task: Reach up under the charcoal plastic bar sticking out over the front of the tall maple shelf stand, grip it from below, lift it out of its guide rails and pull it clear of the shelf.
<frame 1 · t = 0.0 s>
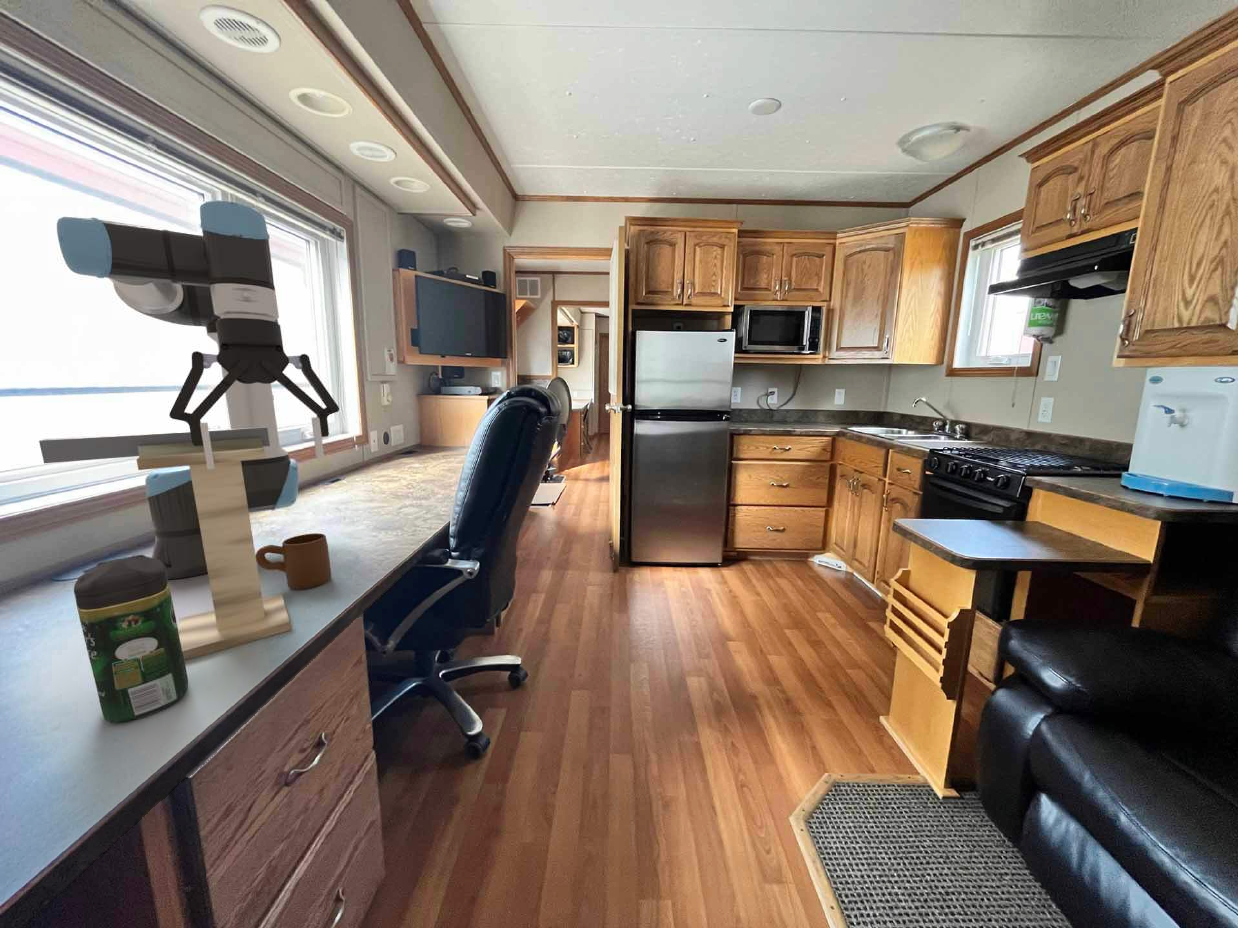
hand: (269, 462, 72), 28 cm above the counter, tool pointing down, fingers open, 13 cm apart
mug: (297, 586, 94), on the counter
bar: (170, 452, 70), point 30 cm above the counter, touching stand
stand: (235, 628, 77), on the counter
coffee jar: (147, 701, 60), on the counter
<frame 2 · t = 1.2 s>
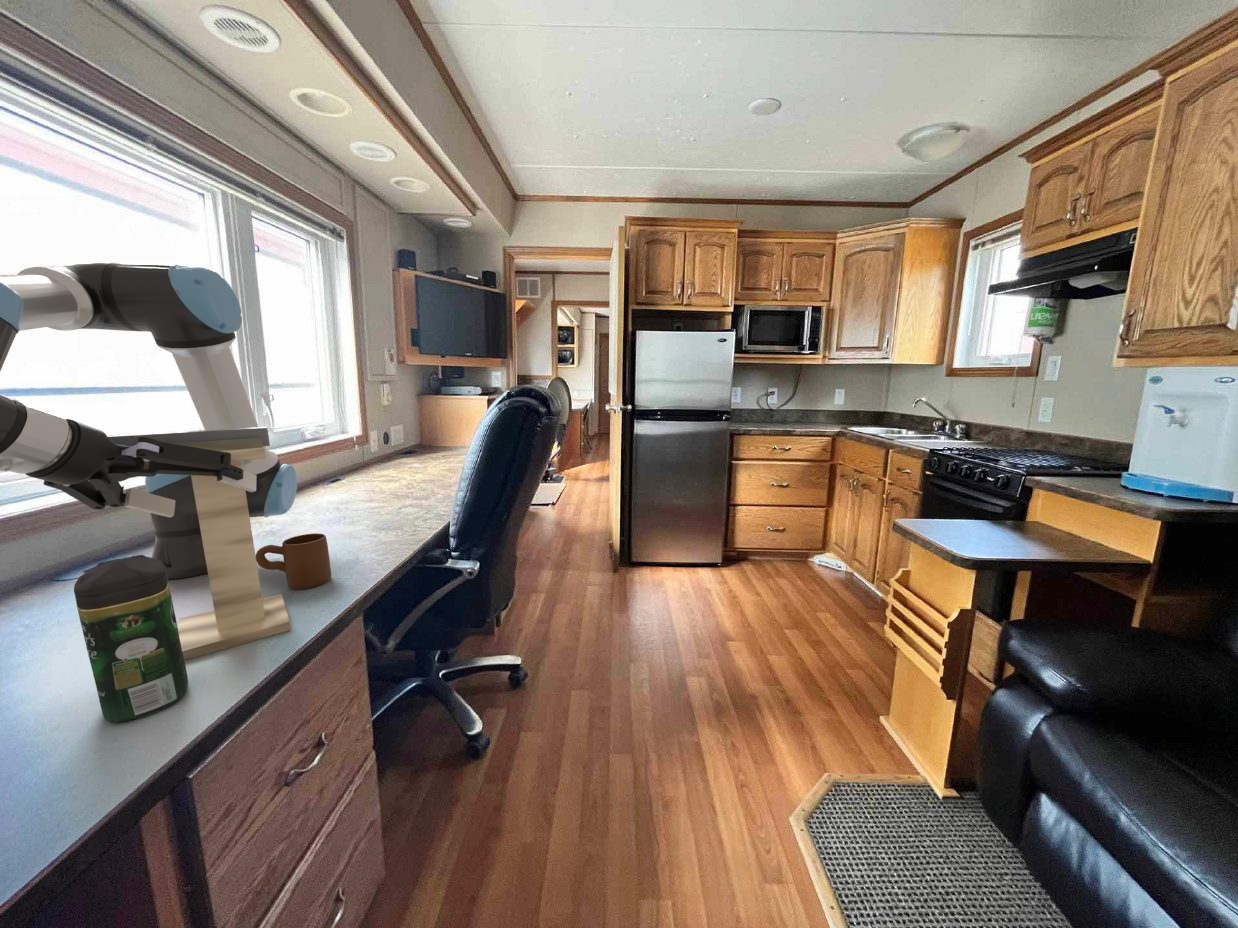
hand: (213, 496, 74), 22 cm above the counter, tool tilted 60°, fingers open, 13 cm apart
nothing on the counter moved.
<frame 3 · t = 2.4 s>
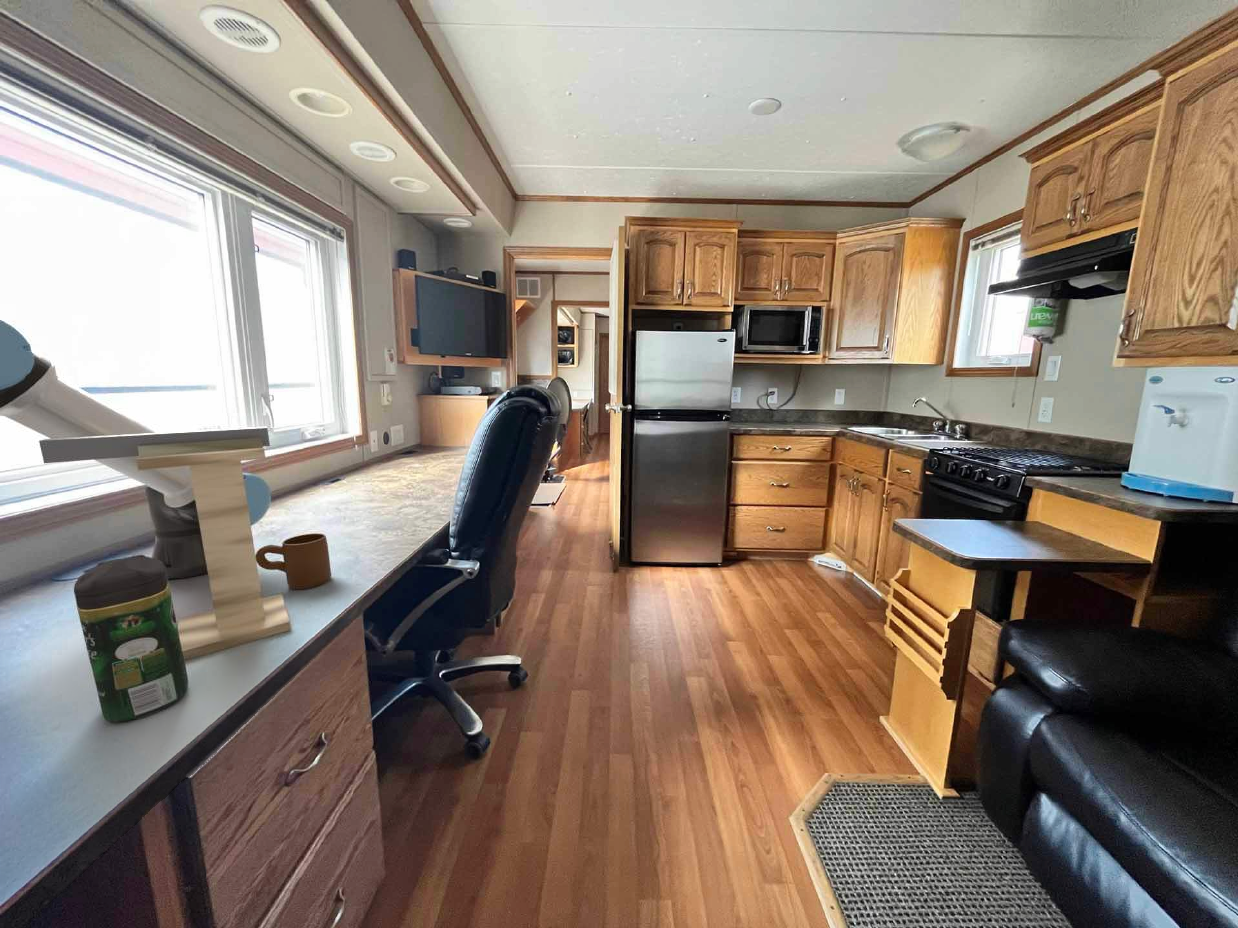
nothing on the counter moved.
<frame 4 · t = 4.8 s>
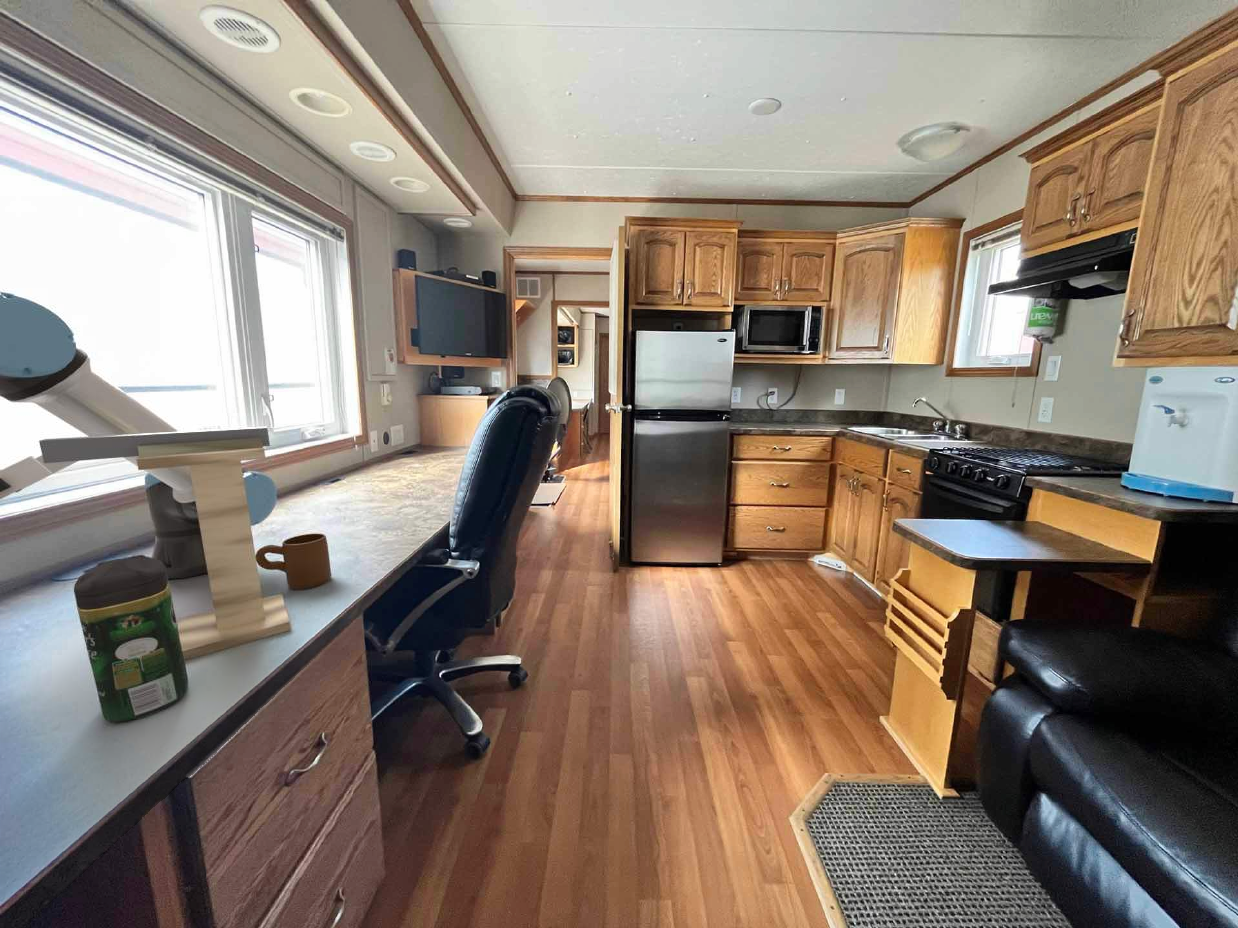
hand: (57, 458, 63), 30 cm above the counter, tool pointing upward, fingers open, 13 cm apart
nothing on the counter moved.
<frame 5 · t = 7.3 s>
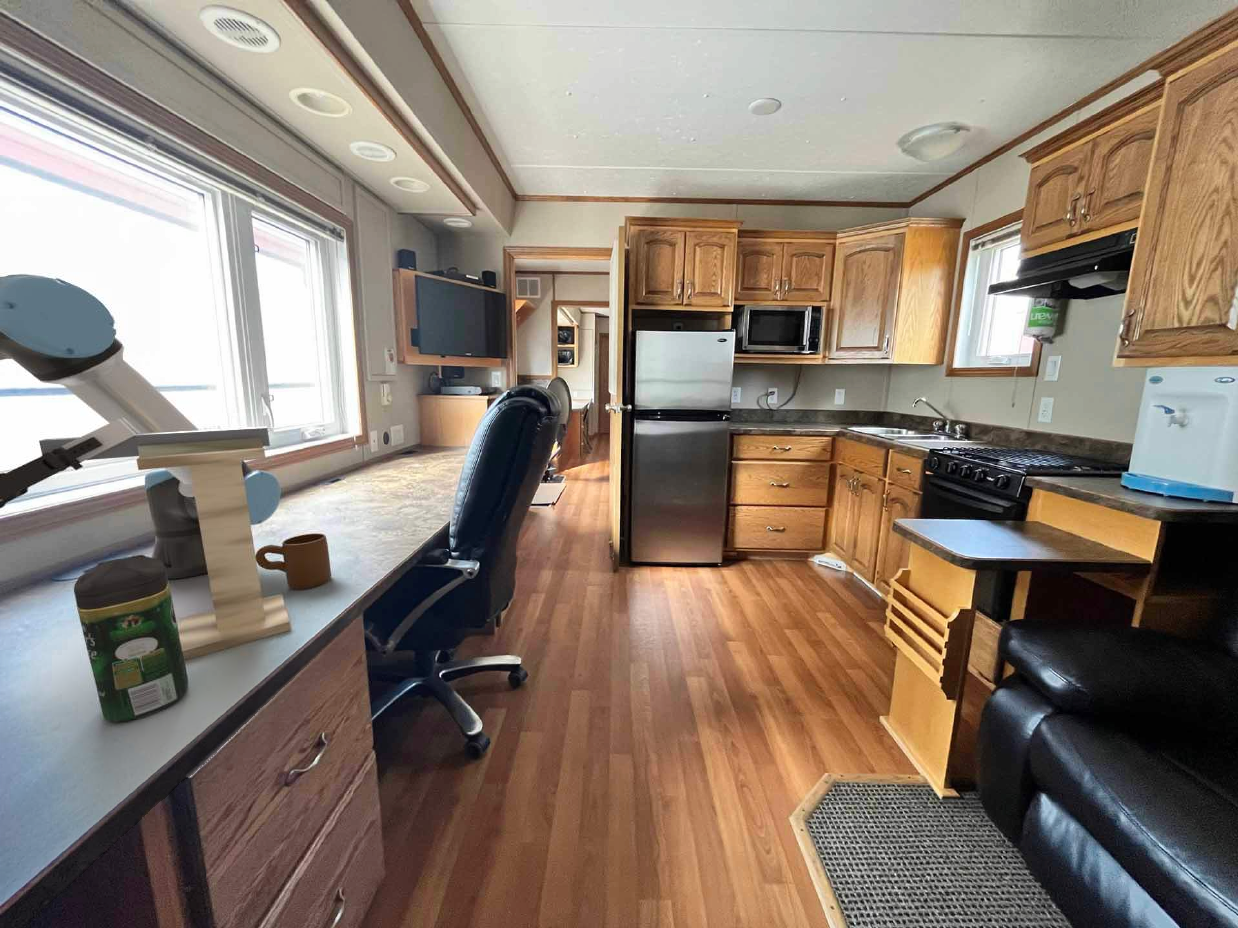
hand: (129, 426, 67), 34 cm above the counter, tool pointing upward, fingers closed on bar, 3 cm apart
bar: (170, 452, 70), point 30 cm above the counter, touching gripper, stand
everything else where it was.
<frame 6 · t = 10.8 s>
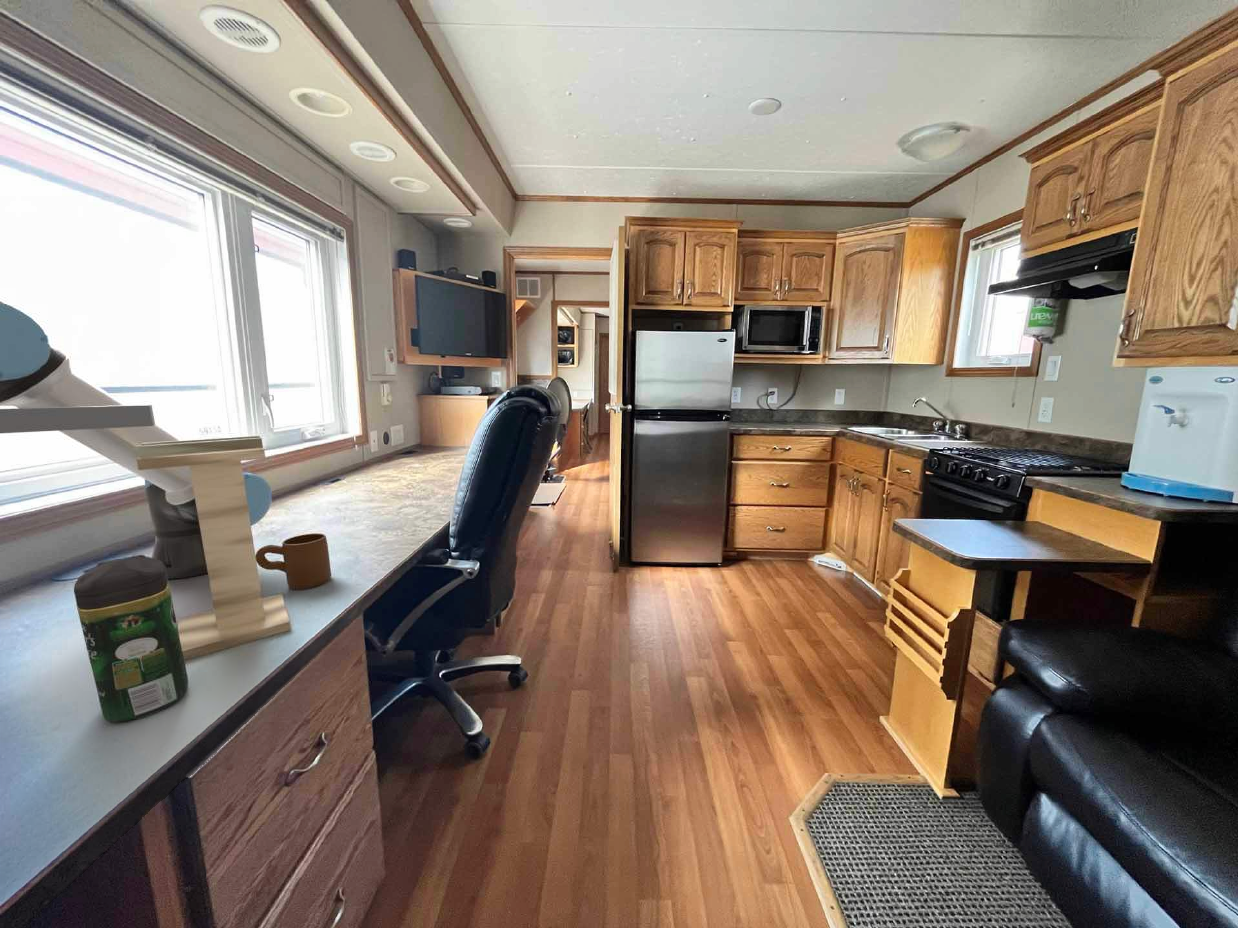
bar: (25, 431, 61), point 34 cm above the counter, touching gripper
everything else where it was.
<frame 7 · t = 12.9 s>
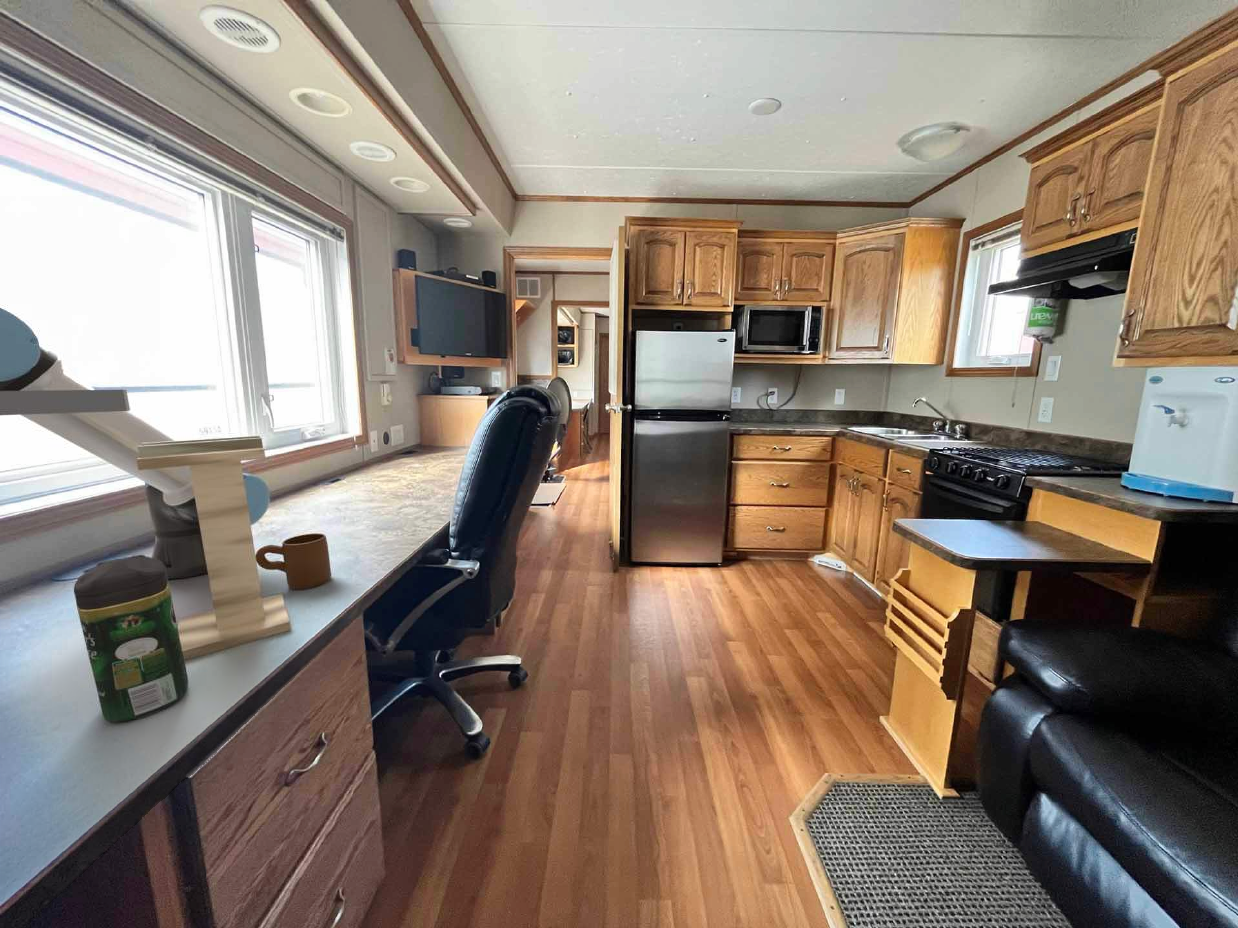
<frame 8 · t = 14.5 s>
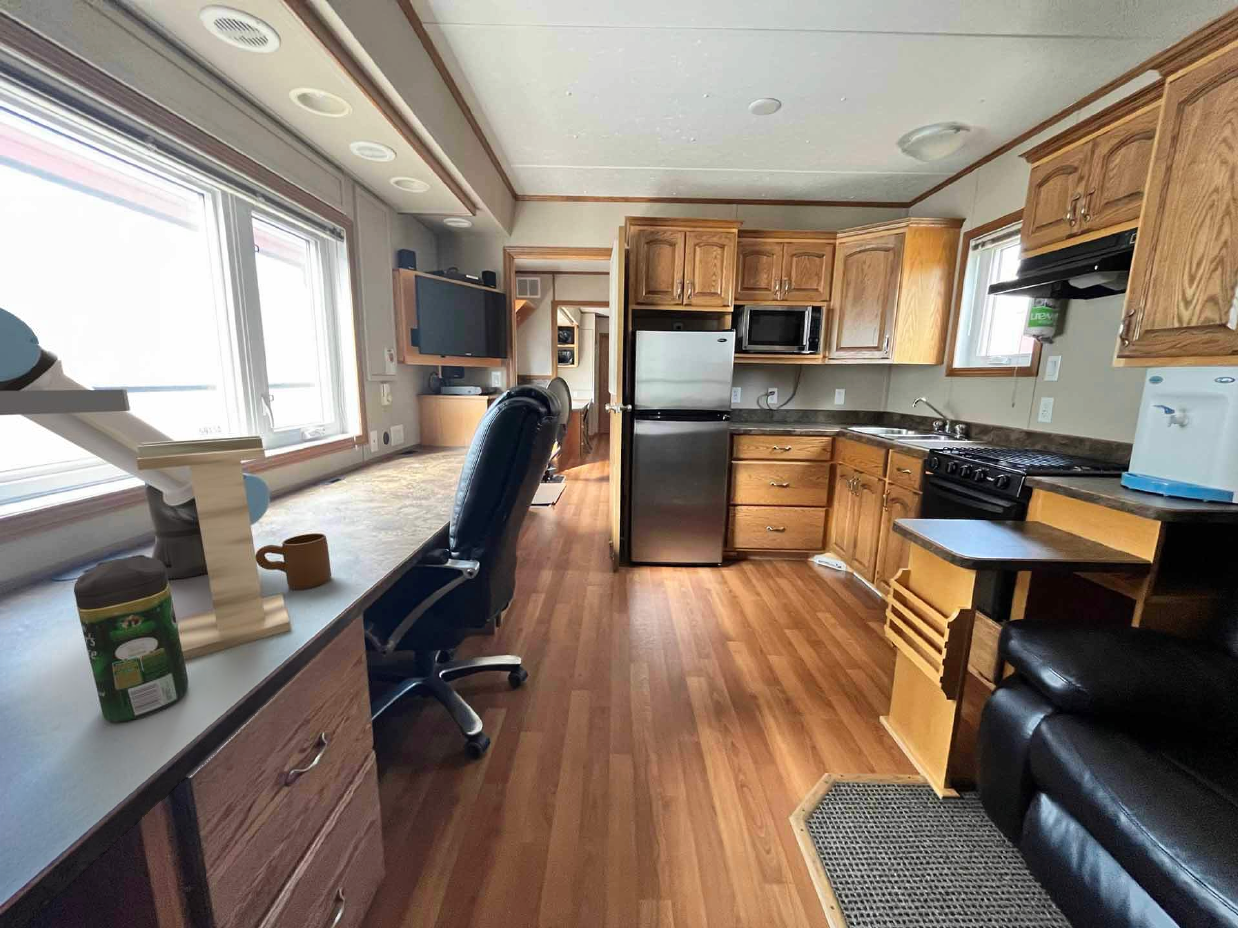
at the end: the gripper is holding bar; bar touching gripper; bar moved 16.8 cm from its start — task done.
